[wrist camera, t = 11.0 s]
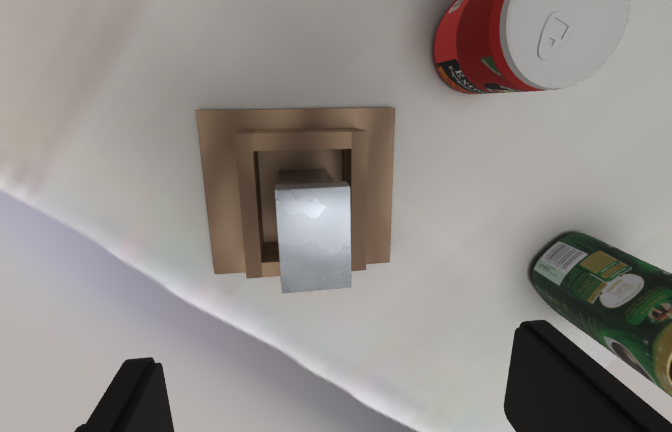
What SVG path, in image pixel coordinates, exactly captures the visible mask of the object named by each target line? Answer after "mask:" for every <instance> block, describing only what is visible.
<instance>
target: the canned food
mask: <svg viewBox="0 0 672 432" xmlns="http://www.w3.org/2000/svg"><path fill="white" fill-rule="evenodd" d="M629 9H630V0H457V1H456V2H454V3H453V4H452V6H451V7H450V8H449V9H448V10H447V12H446V13H445V15H444V17H443V18H442V20H441V22H440V24H439V27H438V29H437V32H436V35H435V40H434V60H435V64H436V67H437V70H438V72H439V73H440V75H441V77H442V78H443V79H444V80H445V82H446V83H447V84H449V85H450V86H451V87H453V88H454V89H455V90H458V91H460V92H462V93H468V94H484V93H505V92H527V91H544V90H555V89H561V88H566V87H569V86H572V85H576V84H578V83H580V82H582V81H584V80H585V79H587V78H589V77H590V76H591V75H593V74H594V73H595V72H596V71H598V70H599V69H600V68H601V67H602V66H603V64H604V63H605V62H606V61H607V60H608V59H609V57H610V56H611V54H612V53H613V52H614V50H615V49H616V47H617V45H618V43H619V41H620V39H621V37H622V35H623V32H624V29H625V26H626V23H627V20H628V15H629Z"/></svg>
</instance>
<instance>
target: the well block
mask: <svg viewBox="0 0 672 432" xmlns="http://www.w3.org/2000/svg"><path fill="white" fill-rule="evenodd" d="M196 117H197V126H198V135H199V143H200V152H201V161H202V169H203V178H204V187H205V195H206V204H207V213H208V221H209V230H210V239H211V247H212V256H213V265H214V273H215V274H226V273H241V272H246V277H247V278H259V277H273V276H281V271H280V257H279V243H278V229H277V215H276V201H275V185H276V184H277V183H278V171H280V170H302V169H325V168H326V170H327V171H328V173H329V174H330V176H331V177H332V178H333V180H334V181H335V182H336V181H346V182H347V183H348V184H349V186H350V209H351V271H359V270H366V264H373V263H388V262H390V239H391V210H392V182H393V153H394V125H395V108H336V109H251V110H196Z"/></svg>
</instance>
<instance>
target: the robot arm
mask: <svg viewBox="0 0 672 432" xmlns="http://www.w3.org/2000/svg"><path fill="white" fill-rule="evenodd" d="M504 411H505V415H506V417H507V419H508V421H509V422H510V424H511V425H512V426H513V428H514V429H515V431H516V432H672V424H671V423H670V422H669V421H668V420H666V419H665V418H664V417H663V416H662V415H660V414H659V413H658V412H657V411H655V410H654V409H653V408H652V407H651V406H649V405H648V404H647V403H646V402H645V401H643V400H642V399H641V398H640V397H638V396H637V395H636V394H635V393H634V392H632V391H631V390H630V389H629V388H628V387H626V386H625V385H624V384H623V383H621V382H620V381H619V380H618V379H617V378H615V377H614V376H613V375H612V374H611V373H609V372H608V371H607V370H606V369H604V368H603V367H602V366H601V365H600V364H598V363H597V362H596V361H595V360H594V359H592V358H591V357H590V356H589V355H587V354H586V353H585V352H584V351H583V350H581V349H580V348H579V347H578V346H577V345H575V344H574V343H573V342H572V341H570V340H569V339H568V338H567V337H566V336H564V335H563V334H562V333H561V332H560V331H558V330H557V329H556V328H555V327H554V326H552V325H551V324H550V323H549V322H547V321H545V320H535V321H525V322H522V323H521V324H520V327H519V328H517V329H516V330H515V334H514V341H513V347H512V354H511V361H510V367H509V374H508V381H507V387H506V394H505V401H504ZM74 432H174V428H173V423H172V417H171V411H170V406H169V400H168V395H167V390H166V384H165V378H164V373H163V367H162V364H161V363H155V362H154V359H153V358H151V357H149V358H139V359H128V360H126V361H125V362H124V363H123V364H122V366H121V368H120V369H119V371H118V372H117V374H116V376H115V377H114V379H113V380H112V382H111V384H110V385H109V387H108V389H107V390H106V392H105V393H104V395H103V397H102V398H101V400H100V402H99V403H98V405H97V407H96V408H95V410H94V411H93V413H92V415H91V416H90V418H89V419H88V421H87V423H86V424H82V425H81V426H79V427H78V428H77V429H76V430H75V431H74Z"/></svg>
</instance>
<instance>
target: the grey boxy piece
mask: <svg viewBox="0 0 672 432" xmlns="http://www.w3.org/2000/svg"><path fill="white" fill-rule="evenodd" d="M275 201H276V215H277V229H278V243H279V257H280V271H281V285H282V293H292V292H304V291H315V290H327V289H338V288H350V287H351V209H350V186H349V184H348V183H347V182H346V181H336V182H335V181H334V180H333V178H332V177H331V176H330V174H329V173H328V171H327V170H326V168H325V169H302V170H280V171H278V183H277V184H276V185H275Z"/></svg>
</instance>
